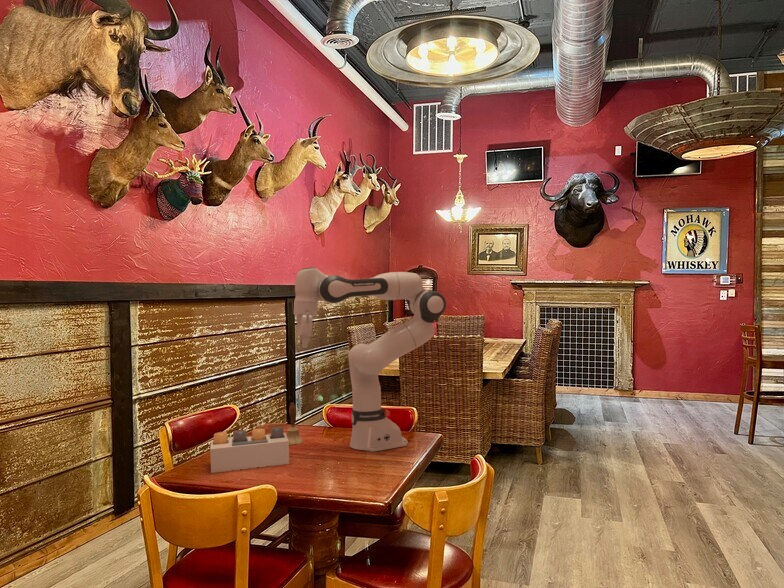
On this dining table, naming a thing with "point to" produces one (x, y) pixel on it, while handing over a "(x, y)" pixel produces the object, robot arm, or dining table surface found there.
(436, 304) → the robot arm
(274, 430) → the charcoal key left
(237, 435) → the charcoal key middle
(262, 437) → the orange key
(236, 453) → the keypad
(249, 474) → the dining table surface
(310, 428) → the dining table surface
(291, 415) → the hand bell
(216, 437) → the orange key
